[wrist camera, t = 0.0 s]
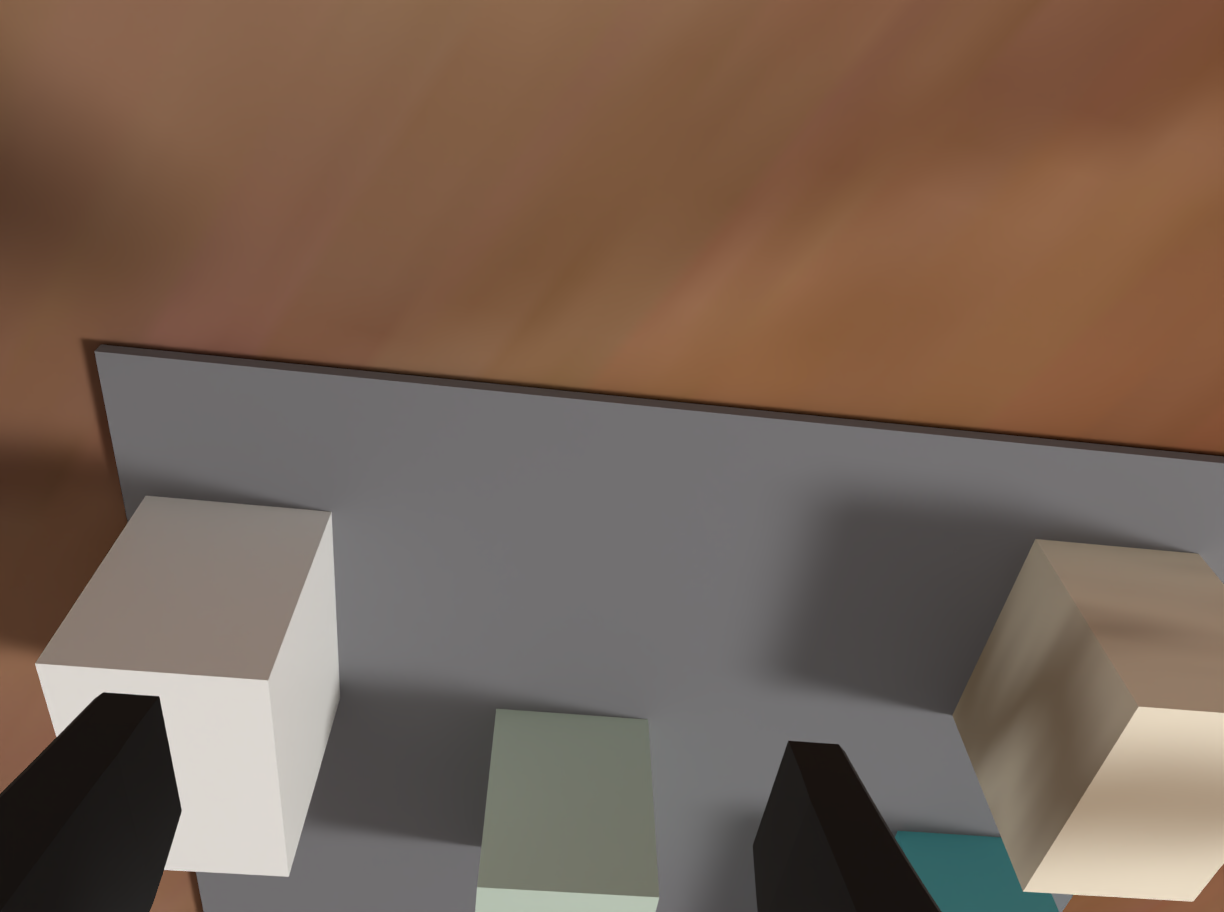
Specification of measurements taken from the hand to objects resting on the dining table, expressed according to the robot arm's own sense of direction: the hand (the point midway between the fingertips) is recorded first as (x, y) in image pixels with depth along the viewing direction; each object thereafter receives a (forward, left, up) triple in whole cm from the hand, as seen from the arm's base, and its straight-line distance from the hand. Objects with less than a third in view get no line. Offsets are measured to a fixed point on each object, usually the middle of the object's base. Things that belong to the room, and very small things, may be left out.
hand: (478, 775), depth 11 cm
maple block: (-6, -14, -10) cm, 18 cm away
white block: (-7, +6, -10) cm, 13 cm away
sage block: (-13, -2, -10) cm, 16 cm away
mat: (-11, -5, -10) cm, 16 cm away
